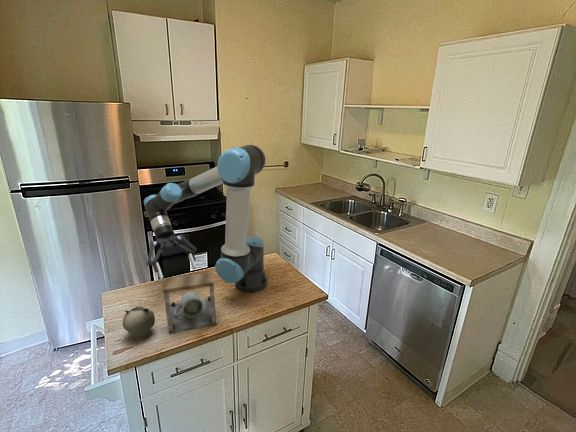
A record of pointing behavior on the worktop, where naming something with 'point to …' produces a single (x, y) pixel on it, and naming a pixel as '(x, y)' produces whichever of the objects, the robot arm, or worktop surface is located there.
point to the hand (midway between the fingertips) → (178, 273)
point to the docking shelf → (180, 284)
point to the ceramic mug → (189, 305)
